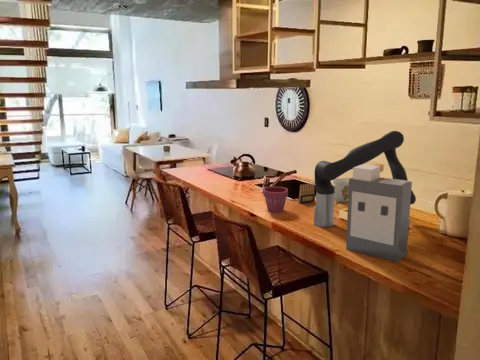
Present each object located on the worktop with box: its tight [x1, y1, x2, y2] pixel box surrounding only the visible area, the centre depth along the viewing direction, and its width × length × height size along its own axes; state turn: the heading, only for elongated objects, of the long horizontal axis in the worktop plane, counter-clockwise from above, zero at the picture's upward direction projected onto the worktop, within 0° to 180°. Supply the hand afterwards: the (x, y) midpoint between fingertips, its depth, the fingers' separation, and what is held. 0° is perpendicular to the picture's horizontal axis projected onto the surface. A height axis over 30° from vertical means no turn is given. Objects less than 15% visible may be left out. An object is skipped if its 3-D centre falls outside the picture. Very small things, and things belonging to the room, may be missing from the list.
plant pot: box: [263, 186, 289, 214], centre depth 246 cm, size 14×14×13 cm
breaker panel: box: [345, 177, 413, 263], centre depth 181 cm, size 23×11×32 cm, turn 49°
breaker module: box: [352, 163, 385, 182], centre depth 185 cm, size 8×19×5 cm, turn 139°
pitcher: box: [332, 177, 351, 203], centre depth 263 cm, size 11×18×14 cm, turn 122°
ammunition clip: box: [298, 182, 316, 204], centre depth 263 cm, size 11×2×12 cm, turn 114°
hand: (384, 177), depth 198 cm, fingers open, 8 cm apart
